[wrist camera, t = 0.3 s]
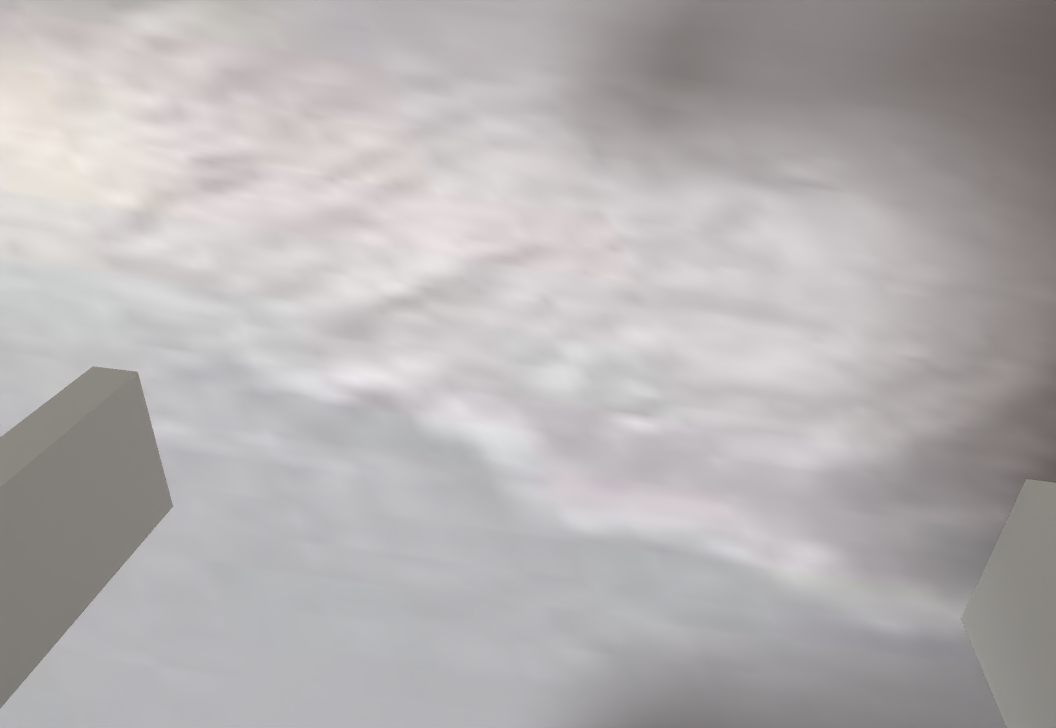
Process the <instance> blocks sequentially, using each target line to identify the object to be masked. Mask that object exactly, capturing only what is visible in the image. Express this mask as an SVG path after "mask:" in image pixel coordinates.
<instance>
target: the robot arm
mask: <svg viewBox="0 0 1056 728" xmlns="http://www.w3.org/2000/svg"><path fill="white" fill-rule="evenodd" d="M172 507H173V505H172V501H171V497H170V493H169V489H168V486H167V482H166V478H165V474H164V470H163V467H162V463H161V459H160V455H159V451H158V448H157V444H156V440H155V436H154V432H153V429H152V425H151V421H150V417H149V413H148V410H147V406H146V402H145V398H144V394H143V390H142V387H141V383H140V379H139V375H138V372H134V371H126V370H118V369H109V368H101V367H92V368H90V369H89V370H88V371H87V372H85V373H84V374H83V375H81V376H80V377H79V378H77V379H76V380H75V381H73V382H72V383H71V384H70V385H68V386H67V387H66V388H64V389H63V390H62V391H60V392H59V393H58V394H57V395H55V396H54V397H53V398H51V399H50V400H49V401H47V402H46V403H45V404H43V405H42V406H41V407H40V408H38V409H37V410H36V411H34V412H33V413H32V414H30V415H29V416H28V417H26V418H25V419H24V420H23V421H21V422H20V423H19V424H17V425H16V426H15V427H13V428H12V429H11V430H10V431H8V432H7V433H6V434H4V435H3V436H2V437H0V708H1V707H2V706H3V705H4V704H5V702H6V701H7V700H8V699H9V698H10V697H11V695H12V694H13V693H14V692H15V691H16V689H17V688H18V687H19V686H20V685H21V684H22V682H23V681H24V680H25V679H26V678H27V677H28V675H29V674H30V673H31V672H32V671H33V670H34V668H35V667H36V666H37V665H38V664H39V663H40V661H41V660H42V659H43V658H44V657H45V656H46V654H47V653H48V652H49V651H50V650H51V649H52V647H53V646H54V645H55V644H56V643H57V642H58V640H59V639H60V638H61V637H62V636H63V634H64V633H65V632H66V631H67V630H68V629H69V627H70V626H71V625H72V624H73V623H74V622H75V620H76V619H77V618H78V617H79V616H80V615H81V613H82V612H83V611H84V610H85V609H86V608H87V606H88V605H89V604H90V603H91V602H92V601H93V599H94V598H95V597H96V596H97V595H98V594H99V592H100V591H101V590H102V589H103V588H104V586H105V585H106V584H107V583H108V582H109V581H110V579H111V578H112V577H113V576H114V575H115V574H116V572H117V571H118V570H119V569H120V568H121V567H122V565H123V564H124V563H125V562H126V561H127V560H128V558H129V557H130V556H131V555H132V554H133V553H134V551H135V550H136V549H137V548H138V547H139V546H140V544H141V543H142V542H143V541H144V540H145V538H146V537H147V536H148V535H149V534H150V533H151V531H152V530H153V529H154V528H155V527H156V526H157V524H158V523H159V522H160V521H161V520H162V519H163V517H164V516H165V515H166V514H167V513H168V512H169V510H170V509H171V508H172ZM961 620H962V622H963V625H964V627H965V629H966V632H967V634H968V637H969V639H970V641H971V644H972V646H973V649H974V651H975V653H976V656H977V658H978V660H979V663H980V665H981V668H982V670H983V672H984V675H985V677H986V680H987V682H988V684H989V687H990V689H991V691H992V694H993V696H994V699H995V701H996V703H997V706H998V708H999V711H1000V713H1001V715H1002V718H1003V720H1004V722H1005V725H1006V727H1007V728H1056V483H1055V482H1047V481H1039V480H1030V479H1026V480H1025V483H1024V485H1023V487H1022V489H1021V491H1020V493H1019V495H1018V498H1017V500H1016V502H1015V504H1014V506H1013V508H1012V510H1011V513H1010V515H1009V517H1008V519H1007V521H1006V523H1005V525H1004V528H1003V530H1002V532H1001V534H1000V536H999V538H998V541H997V543H996V545H995V547H994V549H993V551H992V553H991V556H990V558H989V560H988V562H987V564H986V566H985V568H984V571H983V573H982V575H981V577H980V579H979V581H978V583H977V586H976V588H975V590H974V592H973V594H972V596H971V599H970V601H969V603H968V605H967V607H966V609H965V611H964V614H963V616H962V618H961Z"/></svg>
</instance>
